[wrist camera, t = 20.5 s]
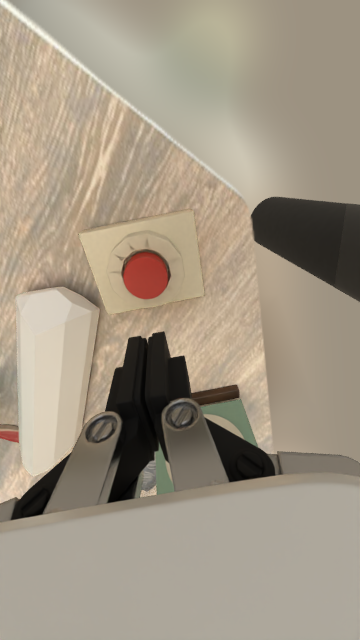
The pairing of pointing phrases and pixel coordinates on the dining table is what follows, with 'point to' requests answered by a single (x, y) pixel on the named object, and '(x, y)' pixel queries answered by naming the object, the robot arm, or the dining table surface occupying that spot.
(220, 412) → the clock
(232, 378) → the dining table surface
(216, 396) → the clock foot
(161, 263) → the alarm button
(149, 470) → the coin fragment
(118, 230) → the alarm block
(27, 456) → the crystal
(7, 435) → the steak
